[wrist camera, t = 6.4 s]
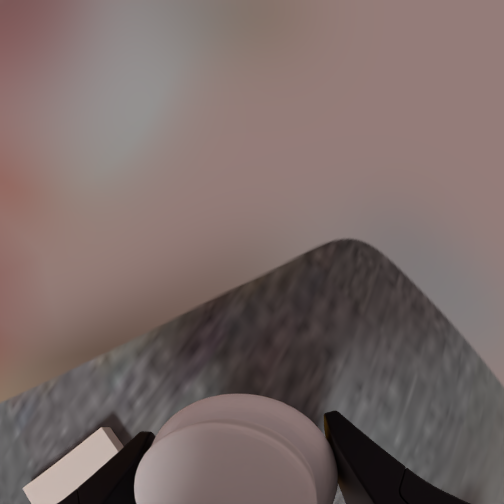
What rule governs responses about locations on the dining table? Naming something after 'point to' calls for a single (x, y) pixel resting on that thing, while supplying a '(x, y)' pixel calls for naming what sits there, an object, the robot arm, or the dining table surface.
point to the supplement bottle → (238, 456)
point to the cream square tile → (74, 468)
